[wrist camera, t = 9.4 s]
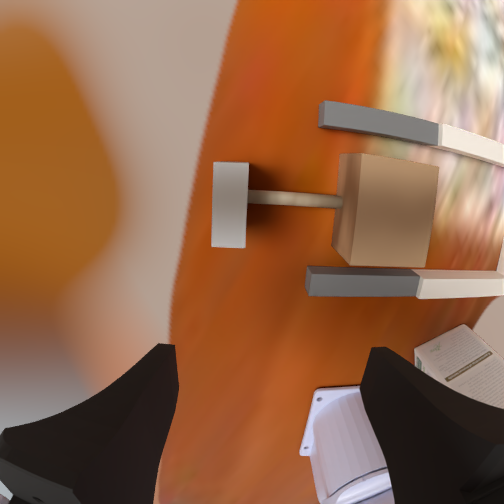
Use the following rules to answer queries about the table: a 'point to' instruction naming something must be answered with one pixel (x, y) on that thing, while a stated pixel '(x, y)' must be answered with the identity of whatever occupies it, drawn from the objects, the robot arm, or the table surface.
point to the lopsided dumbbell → (345, 208)
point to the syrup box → (464, 365)
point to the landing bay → (369, 279)
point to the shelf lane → (500, 280)
